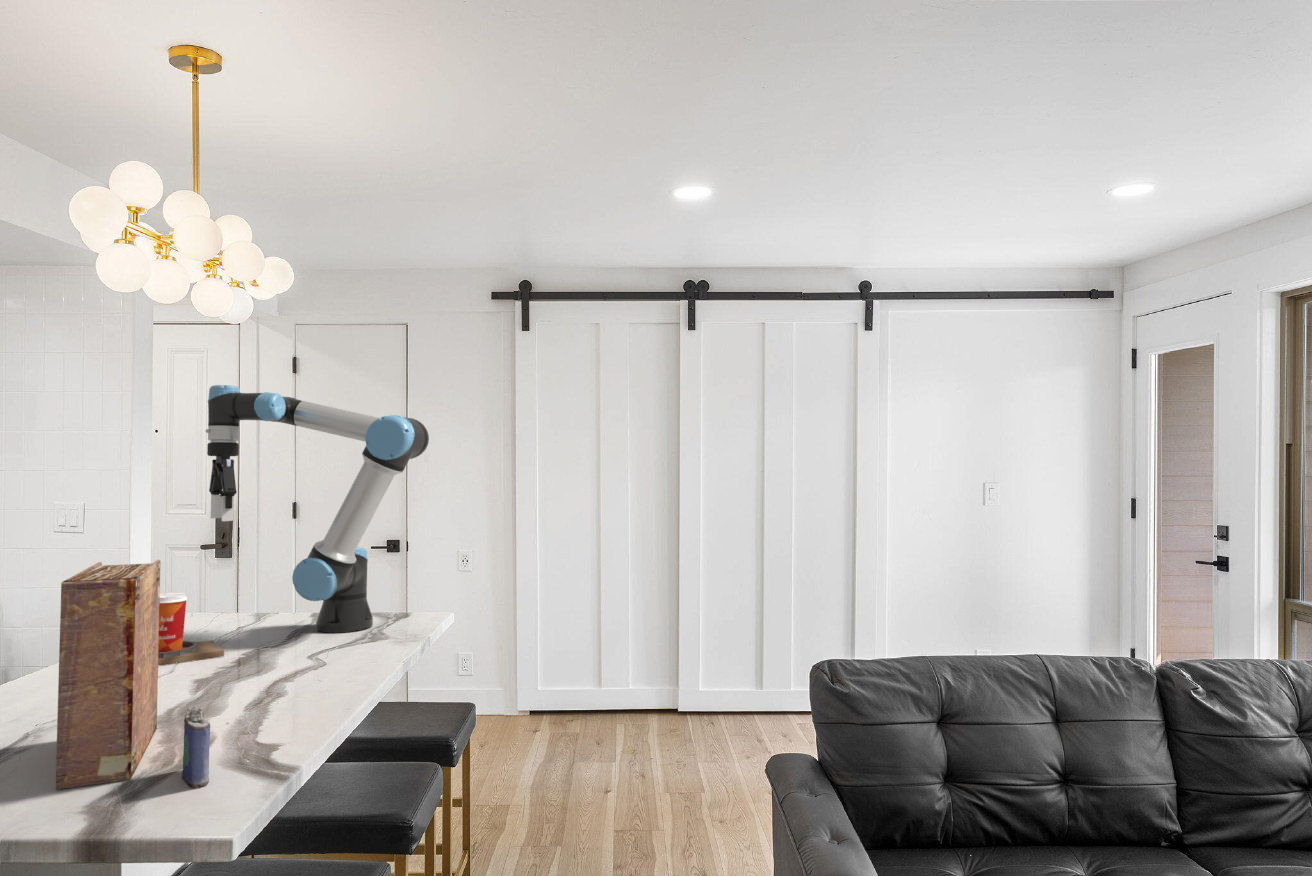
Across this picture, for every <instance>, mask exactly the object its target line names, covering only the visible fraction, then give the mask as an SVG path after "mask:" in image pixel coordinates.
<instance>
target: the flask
mask: <svg viewBox="0 0 1312 876" xmlns="http://www.w3.org/2000/svg"><path fill="white" fill-rule="evenodd" d="M203 708H204V706H203V705H202V706H201V707H198V706H197V705H194V706H188V707H187V712H186V713H185V715H184V722H183V723H184V725H183V727H184V728H183V731H184V732H183V754H182V755H183V756H182V772H181V779H182V780H183V781H184V783H185V784H186V785H187V786H188V787H190V788H192V789H200V788H202V787H207V785H208V784H209V782H210V776H209V775H210V743H211V742H210V737H211V736H210V735H211V723H210V722H209V721H208V720H207V719H205V718H204V711H203Z"/></svg>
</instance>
